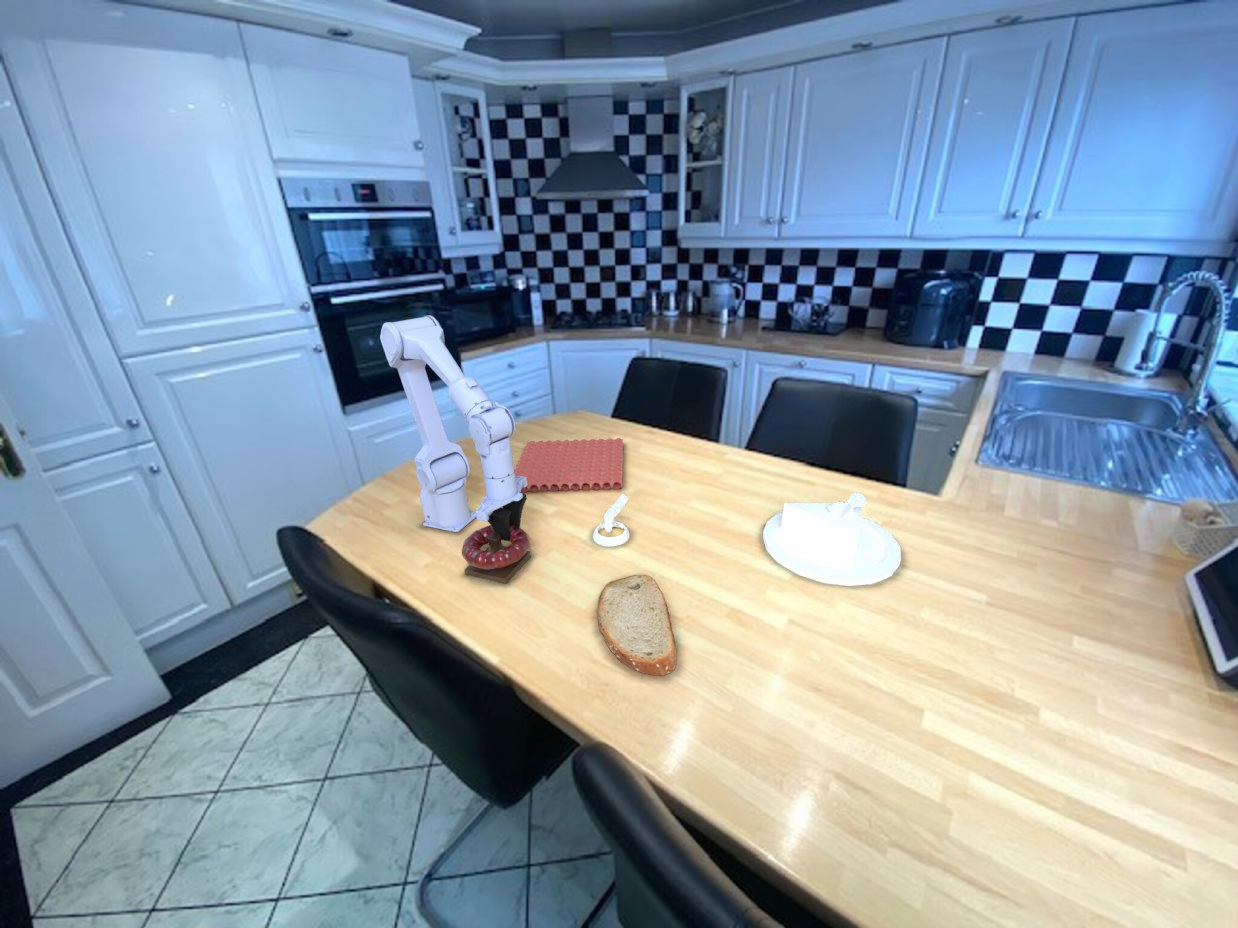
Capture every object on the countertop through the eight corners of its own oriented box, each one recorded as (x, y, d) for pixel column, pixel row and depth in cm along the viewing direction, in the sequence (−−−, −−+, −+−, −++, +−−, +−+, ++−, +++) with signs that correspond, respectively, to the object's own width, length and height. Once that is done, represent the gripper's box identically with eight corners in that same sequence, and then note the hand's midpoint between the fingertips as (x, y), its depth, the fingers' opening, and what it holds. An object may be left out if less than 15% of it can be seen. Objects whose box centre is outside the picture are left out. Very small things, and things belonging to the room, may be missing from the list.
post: (465, 574, 95) (459, 545, 93) (492, 548, 103) (487, 520, 100) (506, 584, 92) (501, 554, 89) (531, 556, 100) (527, 527, 97)
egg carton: (622, 489, 123) (622, 482, 123) (508, 492, 124) (507, 485, 123) (623, 444, 149) (622, 438, 148) (528, 447, 150) (527, 441, 149)
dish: (897, 524, 105) (908, 476, 100) (901, 600, 84) (915, 543, 79) (774, 503, 114) (779, 458, 109) (752, 566, 94) (756, 514, 89)
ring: (449, 565, 93) (446, 550, 92) (488, 530, 104) (486, 516, 102) (507, 578, 89) (504, 563, 88) (541, 540, 99) (540, 526, 98)
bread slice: (665, 684, 71) (665, 665, 69) (563, 637, 80) (561, 619, 78) (714, 608, 84) (715, 590, 83) (622, 575, 93) (621, 558, 92)
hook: (653, 523, 99) (624, 511, 96) (619, 560, 105) (590, 550, 102) (647, 498, 105) (620, 486, 102) (615, 534, 111) (588, 523, 108)
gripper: (495, 493, 86) (506, 558, 92) (537, 458, 99) (544, 518, 104) (461, 487, 89) (474, 551, 95) (506, 454, 101) (515, 513, 107)
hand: (508, 533), depth 100 cm, fingers closed on ring, 3 cm apart
